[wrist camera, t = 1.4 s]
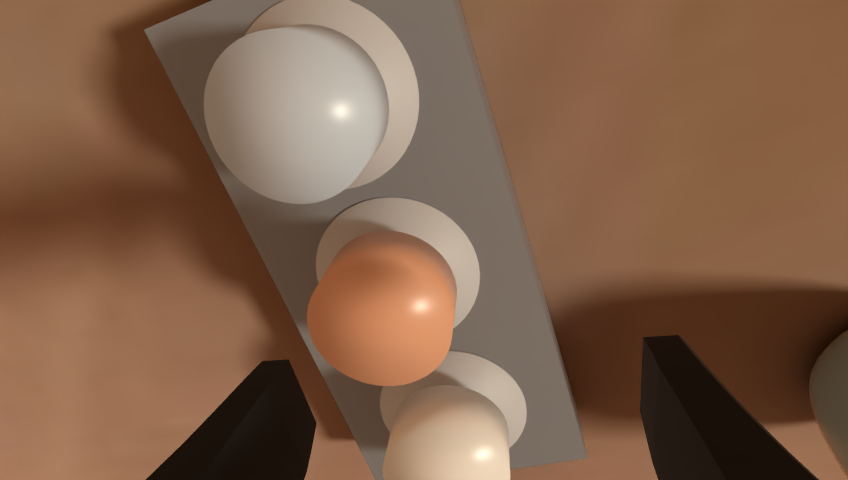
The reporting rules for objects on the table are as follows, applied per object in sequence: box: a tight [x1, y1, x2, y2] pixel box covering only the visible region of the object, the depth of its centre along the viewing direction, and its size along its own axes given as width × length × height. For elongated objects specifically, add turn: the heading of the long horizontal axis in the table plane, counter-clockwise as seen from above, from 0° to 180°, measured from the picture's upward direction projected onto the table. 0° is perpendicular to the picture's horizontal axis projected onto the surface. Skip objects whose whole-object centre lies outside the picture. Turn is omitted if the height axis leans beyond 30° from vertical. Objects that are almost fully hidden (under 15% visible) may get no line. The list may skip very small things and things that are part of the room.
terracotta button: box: [307, 231, 457, 386], centre depth 18 cm, size 5×5×2 cm
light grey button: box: [204, 24, 389, 204], centre depth 15 cm, size 5×5×2 cm
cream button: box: [383, 385, 510, 480], centre depth 21 cm, size 5×5×2 cm
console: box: [144, 0, 587, 480], centre depth 21 cm, size 22×10×3 cm, turn 19°
